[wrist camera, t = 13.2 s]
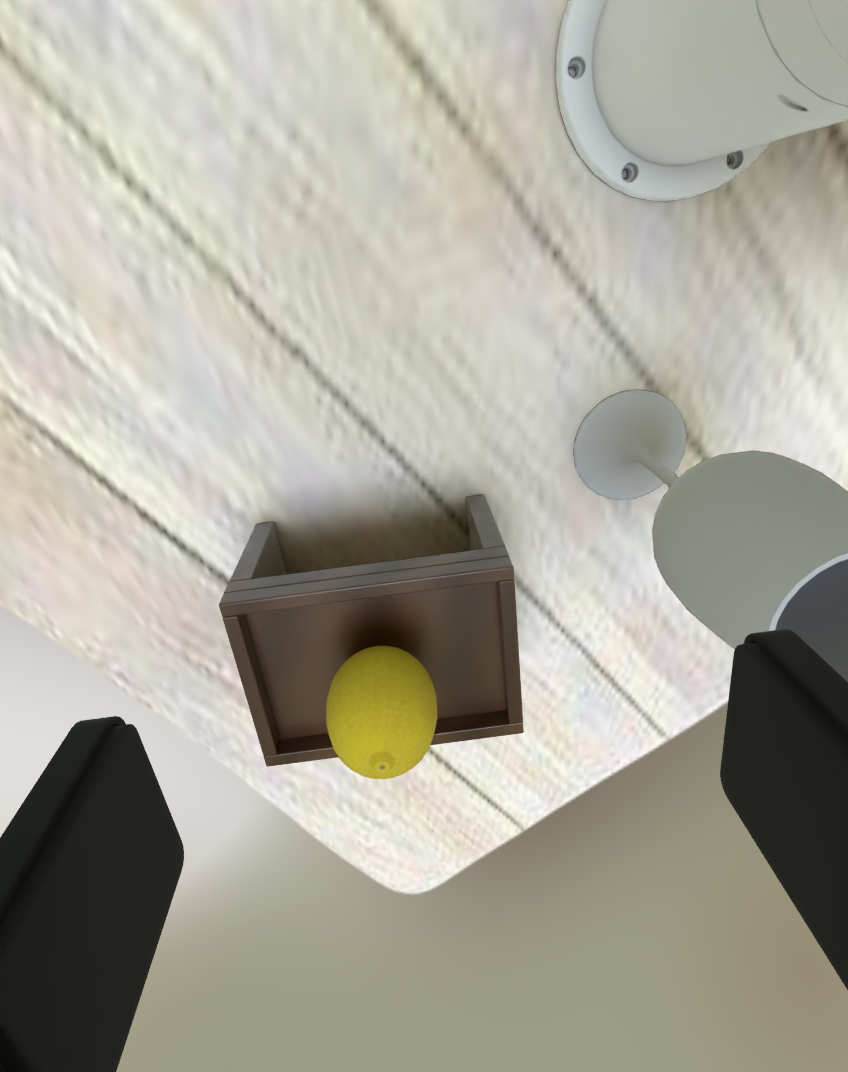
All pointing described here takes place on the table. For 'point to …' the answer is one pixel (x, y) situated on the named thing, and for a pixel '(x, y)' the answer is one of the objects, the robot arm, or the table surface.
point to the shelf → (376, 636)
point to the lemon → (381, 712)
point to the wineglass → (729, 525)
